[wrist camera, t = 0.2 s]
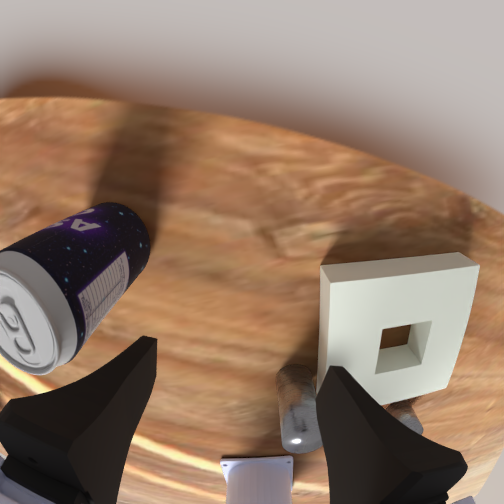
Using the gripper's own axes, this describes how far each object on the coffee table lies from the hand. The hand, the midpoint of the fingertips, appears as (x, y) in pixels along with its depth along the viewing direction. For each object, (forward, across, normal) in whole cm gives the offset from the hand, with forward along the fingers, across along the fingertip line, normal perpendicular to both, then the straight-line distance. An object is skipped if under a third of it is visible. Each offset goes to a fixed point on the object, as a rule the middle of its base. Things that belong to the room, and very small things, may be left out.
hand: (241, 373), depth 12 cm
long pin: (+10, -6, +8) cm, 14 cm away
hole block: (+10, -12, +2) cm, 16 cm away
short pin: (+10, -18, +12) cm, 24 cm away
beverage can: (+10, +9, -1) cm, 14 cm away
